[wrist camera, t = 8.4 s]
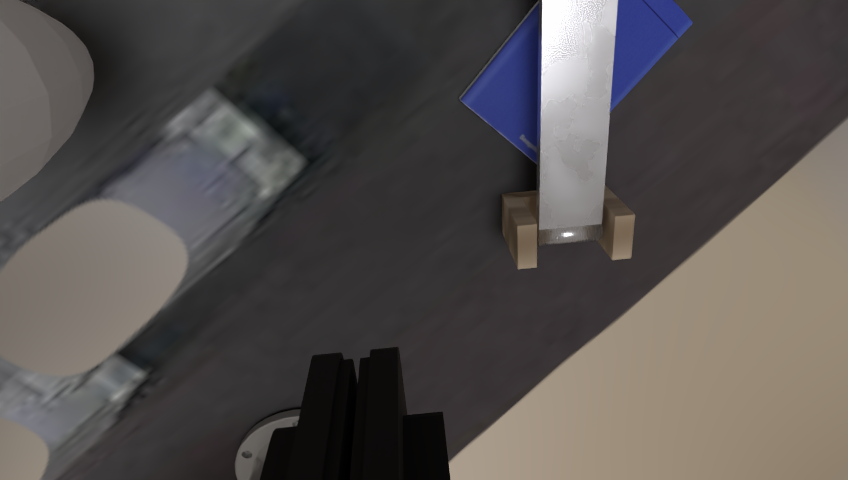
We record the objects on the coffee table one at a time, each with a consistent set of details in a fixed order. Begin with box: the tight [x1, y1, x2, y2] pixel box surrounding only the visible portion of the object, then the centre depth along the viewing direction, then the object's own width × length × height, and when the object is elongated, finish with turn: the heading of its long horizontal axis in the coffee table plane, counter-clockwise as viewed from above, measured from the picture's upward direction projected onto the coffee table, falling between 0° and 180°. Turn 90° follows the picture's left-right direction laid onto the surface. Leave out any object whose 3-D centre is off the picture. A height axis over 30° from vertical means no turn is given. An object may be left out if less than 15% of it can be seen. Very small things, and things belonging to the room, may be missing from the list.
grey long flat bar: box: [536, 0, 618, 246], centre depth 31 cm, size 19×4×1 cm, turn 5°
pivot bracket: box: [501, 186, 635, 269], centre depth 36 cm, size 3×7×6 cm, turn 95°
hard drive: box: [459, 0, 693, 164], centre depth 34 cm, size 2×8×12 cm
